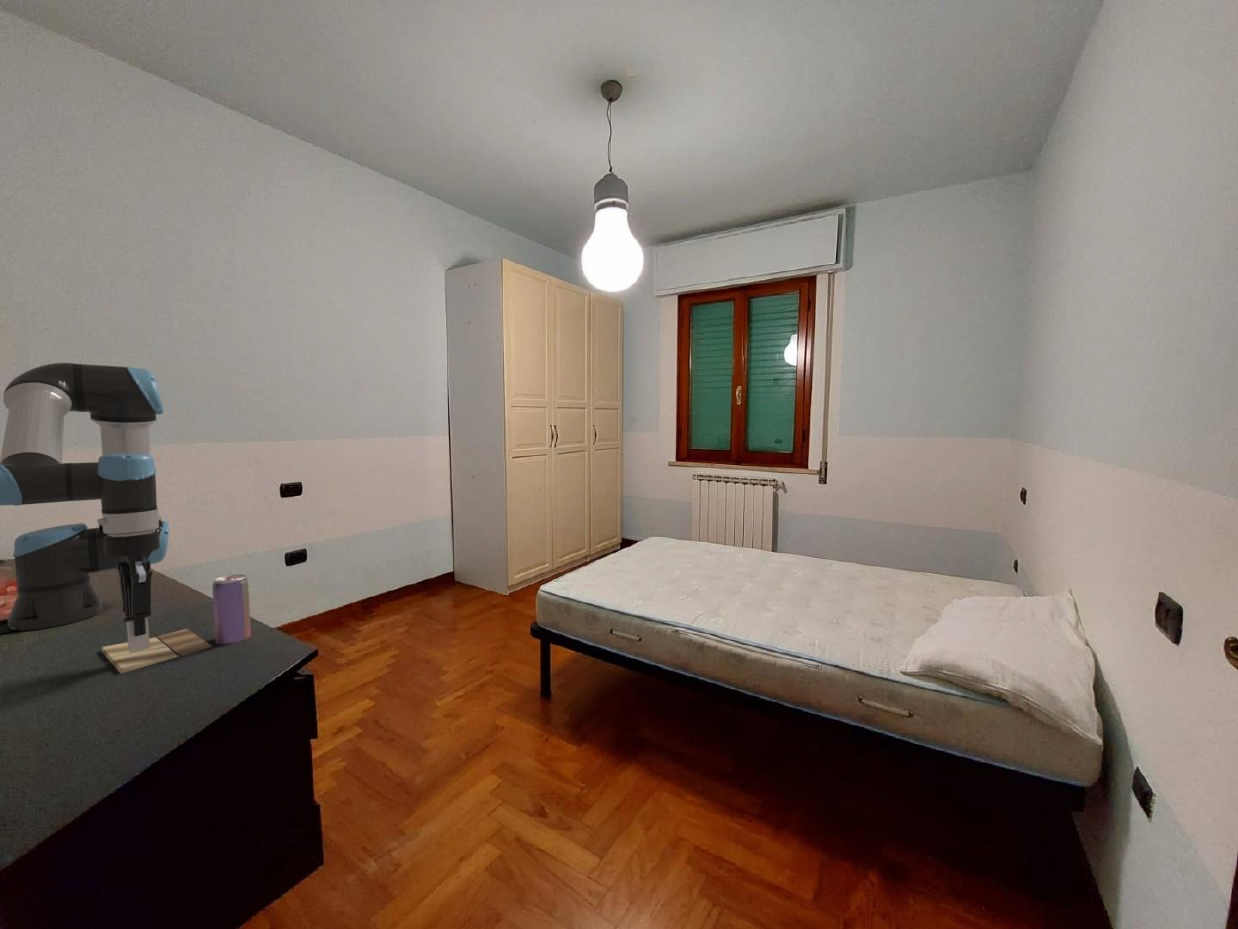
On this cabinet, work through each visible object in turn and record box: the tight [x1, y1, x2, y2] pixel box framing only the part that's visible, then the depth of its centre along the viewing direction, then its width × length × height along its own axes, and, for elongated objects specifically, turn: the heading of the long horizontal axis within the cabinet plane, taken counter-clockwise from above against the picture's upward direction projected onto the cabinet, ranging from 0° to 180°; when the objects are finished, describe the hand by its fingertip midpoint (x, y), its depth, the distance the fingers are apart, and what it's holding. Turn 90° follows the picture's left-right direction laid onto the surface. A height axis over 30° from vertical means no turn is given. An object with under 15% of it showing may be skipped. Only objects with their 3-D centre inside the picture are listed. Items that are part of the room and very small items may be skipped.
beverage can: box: [212, 573, 252, 645], centre depth 101 cm, size 6×6×15 cm
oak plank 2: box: [110, 646, 180, 674], centre depth 92 cm, size 8×8×2 cm
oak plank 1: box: [101, 636, 167, 663], centre depth 97 cm, size 8×8×2 cm
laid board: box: [156, 628, 213, 657], centre depth 100 cm, size 17×5×2 cm, turn 57°
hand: (139, 649), depth 91 cm, fingers closed
